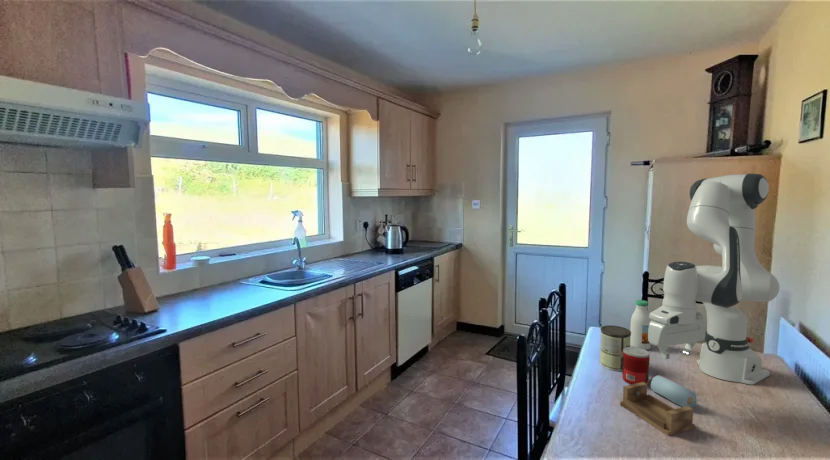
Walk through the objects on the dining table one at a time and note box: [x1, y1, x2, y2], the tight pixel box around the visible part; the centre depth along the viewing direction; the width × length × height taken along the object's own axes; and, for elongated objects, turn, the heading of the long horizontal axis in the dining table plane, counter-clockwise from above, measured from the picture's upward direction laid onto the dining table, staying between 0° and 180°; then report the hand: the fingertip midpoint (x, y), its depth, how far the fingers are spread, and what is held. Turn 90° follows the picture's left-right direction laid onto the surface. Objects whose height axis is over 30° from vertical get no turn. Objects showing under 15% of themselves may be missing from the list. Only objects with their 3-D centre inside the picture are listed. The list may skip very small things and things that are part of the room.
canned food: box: [621, 346, 651, 385], centre depth 133 cm, size 8×8×11 cm
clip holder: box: [619, 382, 696, 437], centre depth 113 cm, size 10×16×6 cm, turn 18°
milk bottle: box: [629, 299, 652, 351], centre depth 162 cm, size 8×8×20 cm
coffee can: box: [599, 325, 631, 372], centre depth 145 cm, size 10×10×14 cm
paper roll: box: [650, 374, 697, 408], centre depth 121 cm, size 6×11×6 cm, turn 18°
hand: (676, 356), depth 120 cm, fingers open, 8 cm apart
